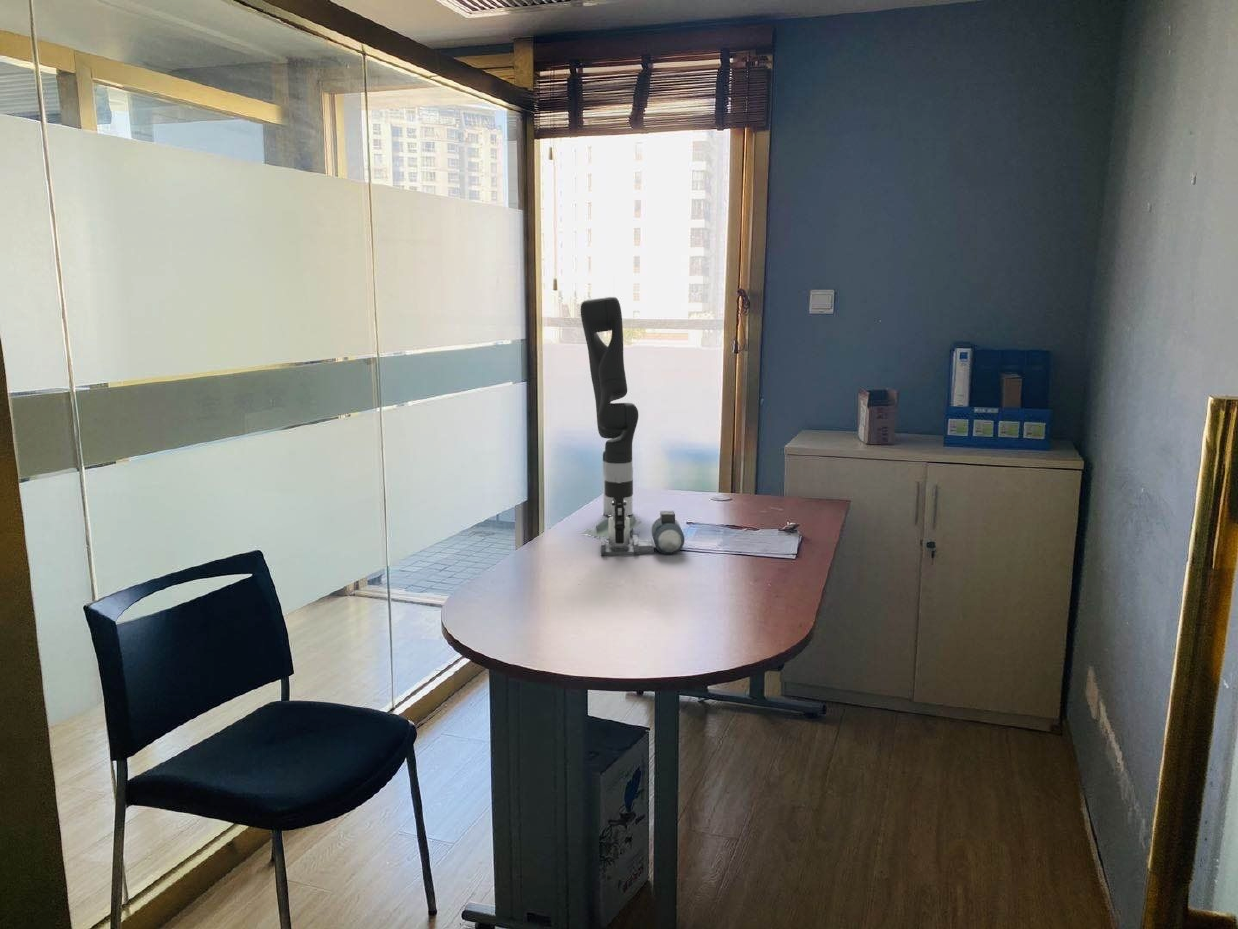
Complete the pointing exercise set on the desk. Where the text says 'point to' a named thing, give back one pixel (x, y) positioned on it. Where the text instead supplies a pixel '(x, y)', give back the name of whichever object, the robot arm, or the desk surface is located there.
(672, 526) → the motor
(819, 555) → the desk surface
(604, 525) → the metal bracket
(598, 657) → the desk surface
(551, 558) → the desk surface
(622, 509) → the robot arm
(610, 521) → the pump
